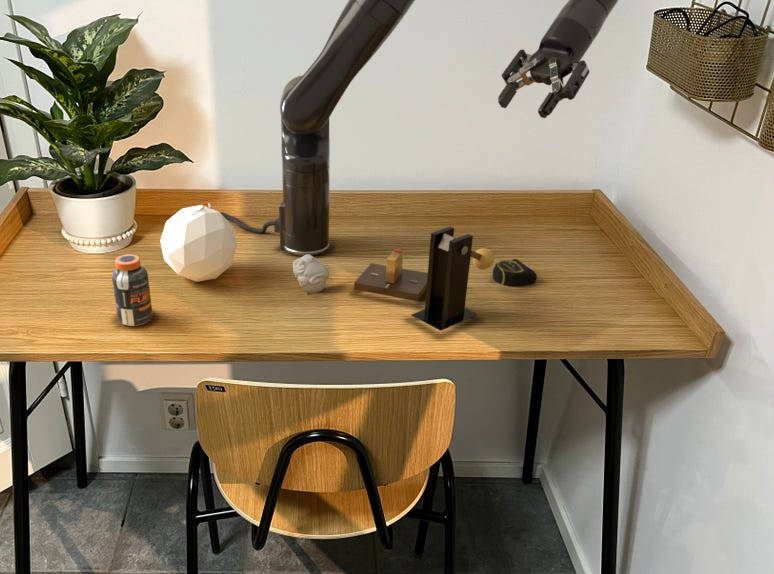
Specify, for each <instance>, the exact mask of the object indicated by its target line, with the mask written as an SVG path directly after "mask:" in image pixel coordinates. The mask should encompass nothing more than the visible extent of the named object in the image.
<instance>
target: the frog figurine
mask: <svg viewBox="0 0 774 574" xmlns="http://www.w3.org/2000/svg"><path fill="white" fill-rule="evenodd" d="M292 271H293V274H294V276H295V278H297V279H296V280H297V281H298V283H299V287H300V288H301V290H303V292H305V293H307V294H310V295H314V294H318V293H320V292H323V290H324V289H325V288H326V286H327V281H328V279H329V278H330V269H329V268H328V267H327V266H326V265H325V264H324V263H323V262H322V261H320V260H319V259H317V258H316V257H314V256H311V255H310V254H307V255H304V256H300V257H298V258H297V259H295V260H293V261H292Z"/></svg>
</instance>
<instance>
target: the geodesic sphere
mask: <svg viewBox="0 0 774 574" xmlns="http://www.w3.org/2000/svg"><path fill="white" fill-rule="evenodd" d="M211 207H212V206H211V204H209V205H208V207H207V206H206V205H203V204H199V205H194V206H188V207H184V208H181V209H180V210H178V211H177V212H176V213H175V214H173V215H172V216H171V217H170V218H169V219H167V221H166V222H165V224H164V228H163V231H162V234H161V237H160V240H159V241H160V246H161V251H162V257H163V260H164V261H165V263H166V264H167V265H168V266H169V267H170V268H171V269H172V270H173V271H174V272H175V273H176V274H177V276H180V277H183V278H185V279H189V280H191V281H192V282H193V281H194V282H196V283H198V282H199V283H200V282H203V281H210V280H215V279H217V278H218V277H219V276H220V275H222V274H223V273H224V272H226V271H227V270H228V269H229V268H230V267H231V266H232V265H233V264H232V263H233V261H234V260H233V259H234V257H235V253H236V250H237V240H236V235H235V234H236V233H235V227H234V226H233V225H232V224H231V223H230V221H229V220H228V219H226V218H225V217H224V216H223V215H222V214H221V213H220V212H221V211H217V210H216V209H213V208H211Z"/></svg>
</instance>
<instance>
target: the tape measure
mask: <svg viewBox="0 0 774 574" xmlns="http://www.w3.org/2000/svg"><path fill="white" fill-rule="evenodd" d="M491 275H492V278H493V281H495V282H496V283H497V284H499V285H502V286H504V287H510V288H519V287H524V286H528V285H533V284H535V283H536V282H537V279H538V275H537V273H536V272H535V271H534V270H533V269H531V268H530V267H529V266H527V265H525V264H524V263H523V262H522V261H520V260H519V259H517V258H514V259H503V260H499V261H498V262H496V263H495V265H494V267H493V269H492V274H491Z"/></svg>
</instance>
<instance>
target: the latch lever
mask: <svg viewBox="0 0 774 574" xmlns="http://www.w3.org/2000/svg"><path fill="white" fill-rule="evenodd" d="M456 238H457V237H454V236H453V237H452V236H449V235H447V234H444V235H443V237H442V240H441V242H440V244H439V246H438V248H441V249H443V250H445V251H448V252H449V241H450V240H453V239H456ZM470 258H472V263H473V266H475V268H477V269H479V270H487V269H490V268H491V267H492V266H493V264H494V263H495V255H494V253H493V252H492V250H490V249H489V248H485V247H482V248H479V249H477V250H476V251H474V250H472V249H471V257H470Z"/></svg>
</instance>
